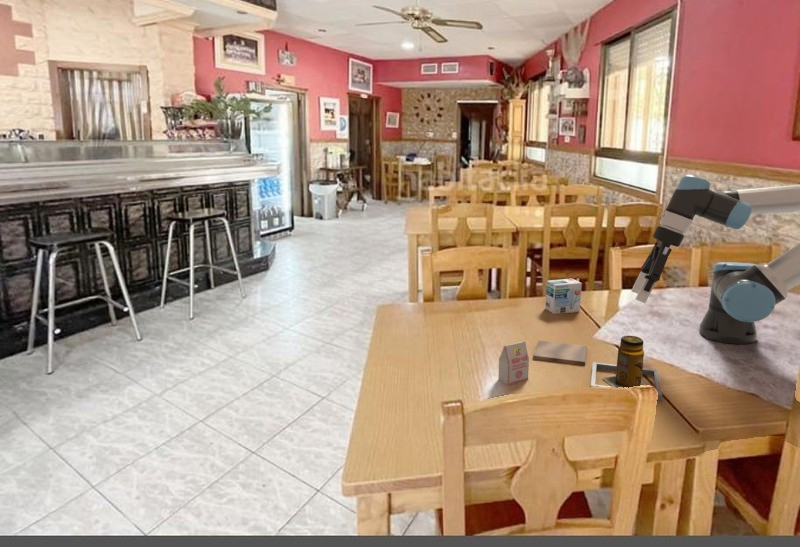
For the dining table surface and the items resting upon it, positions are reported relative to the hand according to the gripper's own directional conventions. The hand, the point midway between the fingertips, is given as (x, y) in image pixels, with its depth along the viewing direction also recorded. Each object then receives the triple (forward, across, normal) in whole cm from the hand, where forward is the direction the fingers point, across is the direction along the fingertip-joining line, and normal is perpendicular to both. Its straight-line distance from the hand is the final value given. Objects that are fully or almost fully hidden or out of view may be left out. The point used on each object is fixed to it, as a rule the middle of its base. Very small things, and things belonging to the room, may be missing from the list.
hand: (637, 297), depth 158 cm
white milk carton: (+28, +32, -23) cm, 48 cm away
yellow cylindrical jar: (+18, +26, +2) cm, 32 cm away
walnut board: (+22, +11, -14) cm, 28 cm away
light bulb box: (+19, -30, -16) cm, 39 cm away
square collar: (+18, +26, +2) cm, 32 cm away
